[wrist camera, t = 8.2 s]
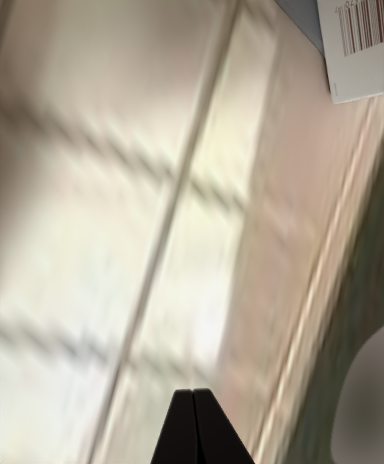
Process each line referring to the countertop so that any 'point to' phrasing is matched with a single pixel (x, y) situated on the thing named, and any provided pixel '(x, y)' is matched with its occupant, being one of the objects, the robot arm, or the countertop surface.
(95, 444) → the countertop surface
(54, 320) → the countertop surface
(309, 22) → the rubber mat
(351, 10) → the supplement box
